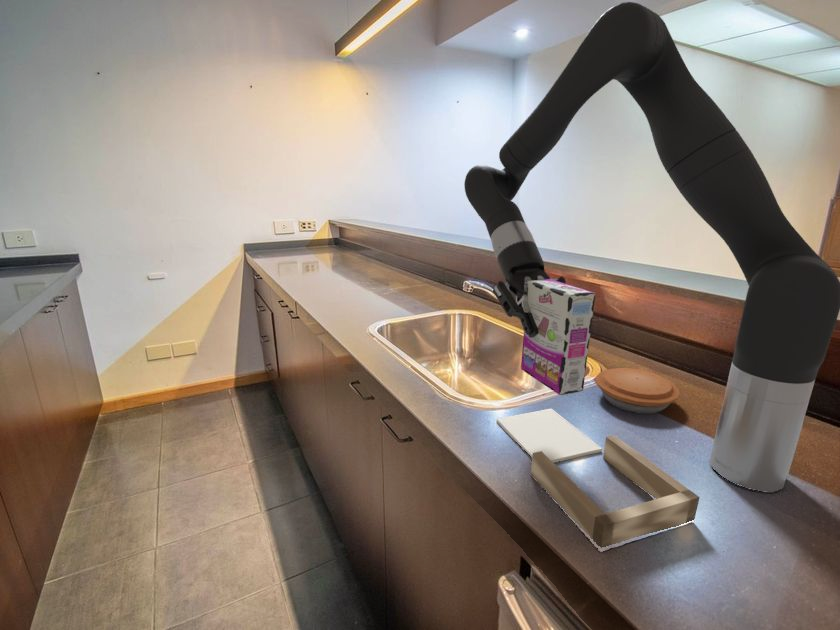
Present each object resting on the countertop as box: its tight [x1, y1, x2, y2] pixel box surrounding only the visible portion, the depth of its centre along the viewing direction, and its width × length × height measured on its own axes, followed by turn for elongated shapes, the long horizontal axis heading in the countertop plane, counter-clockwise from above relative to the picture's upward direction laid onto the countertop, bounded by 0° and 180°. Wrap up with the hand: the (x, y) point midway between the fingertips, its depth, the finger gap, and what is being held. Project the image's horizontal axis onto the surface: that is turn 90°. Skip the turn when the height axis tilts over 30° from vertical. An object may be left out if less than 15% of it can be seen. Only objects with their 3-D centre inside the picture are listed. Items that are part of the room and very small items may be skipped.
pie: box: [594, 367, 681, 415], centre depth 86 cm, size 16×16×5 cm
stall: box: [530, 434, 700, 548], centre depth 59 cm, size 15×15×4 cm
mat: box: [496, 408, 603, 464], centre depth 74 cm, size 12×14×1 cm
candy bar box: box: [520, 279, 596, 396], centre depth 69 cm, size 11×5×16 cm, turn 21°
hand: (548, 333), depth 71 cm, fingers closed on candy bar box, 5 cm apart
